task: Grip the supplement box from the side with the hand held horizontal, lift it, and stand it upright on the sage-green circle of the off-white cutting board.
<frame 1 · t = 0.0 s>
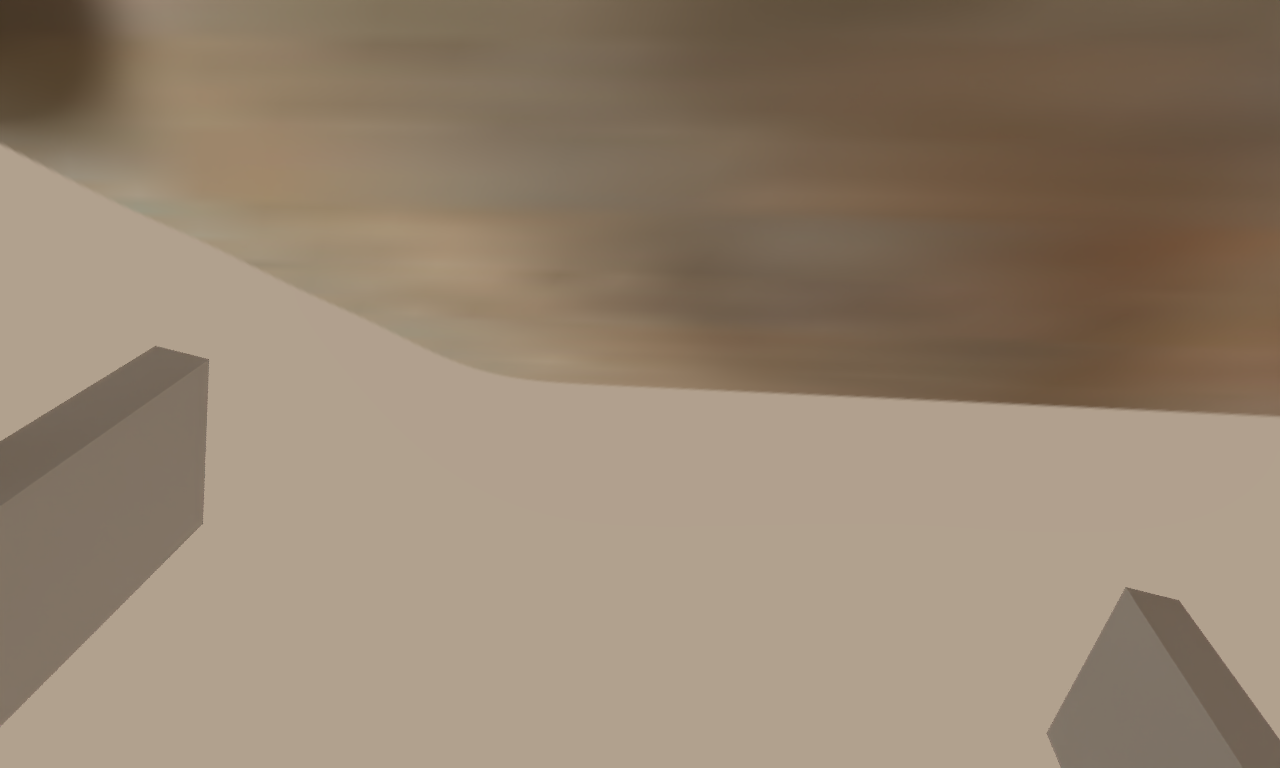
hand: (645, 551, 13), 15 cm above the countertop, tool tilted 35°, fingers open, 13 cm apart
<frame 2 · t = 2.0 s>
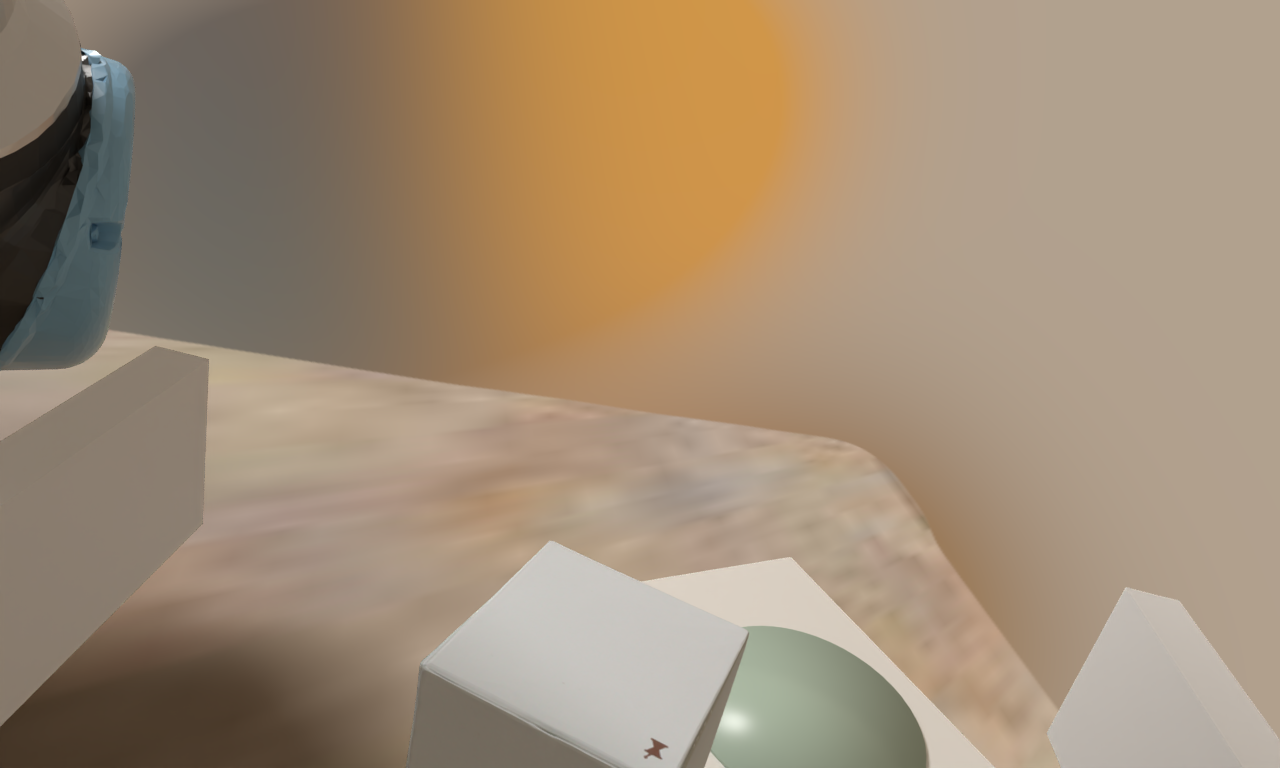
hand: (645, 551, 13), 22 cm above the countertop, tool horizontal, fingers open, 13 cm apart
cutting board: (793, 738, 42), on the countertop
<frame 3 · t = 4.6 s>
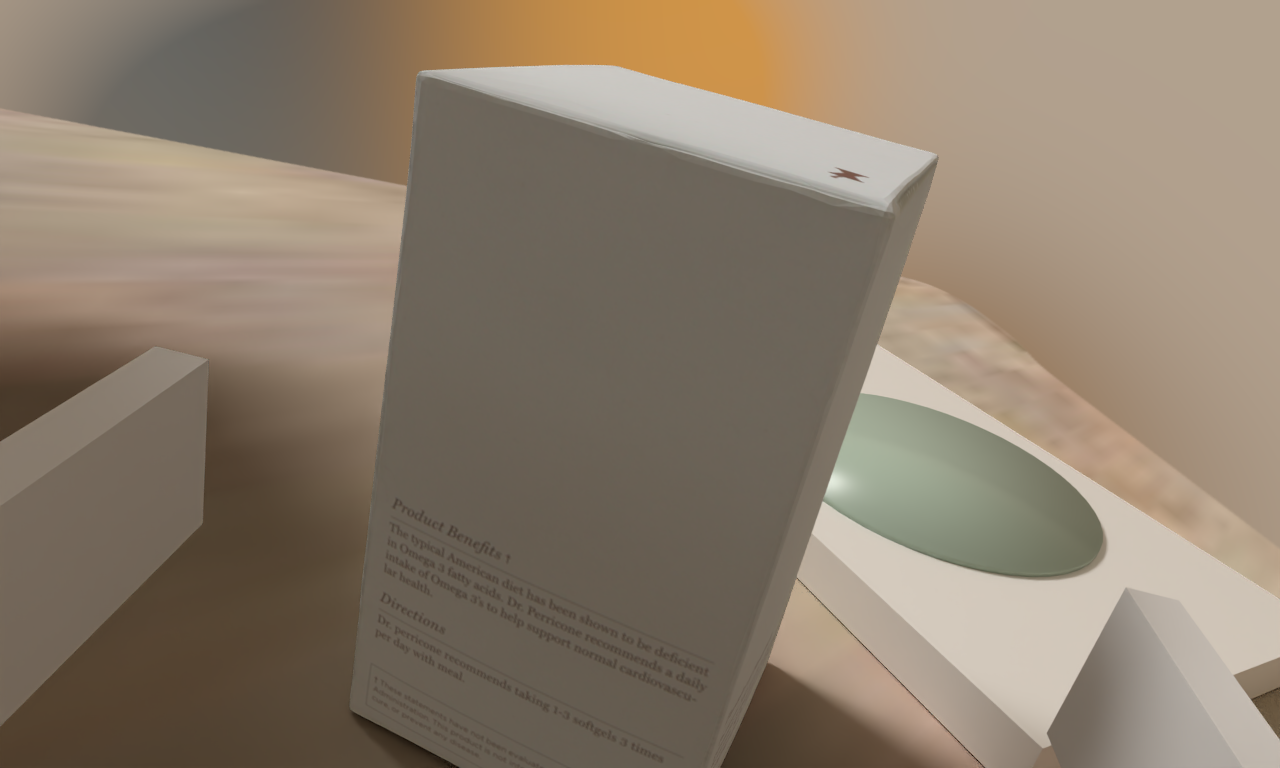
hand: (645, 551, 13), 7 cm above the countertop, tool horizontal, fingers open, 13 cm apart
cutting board: (915, 510, 32), on the countertop
supplement box: (574, 688, 21), on the countertop
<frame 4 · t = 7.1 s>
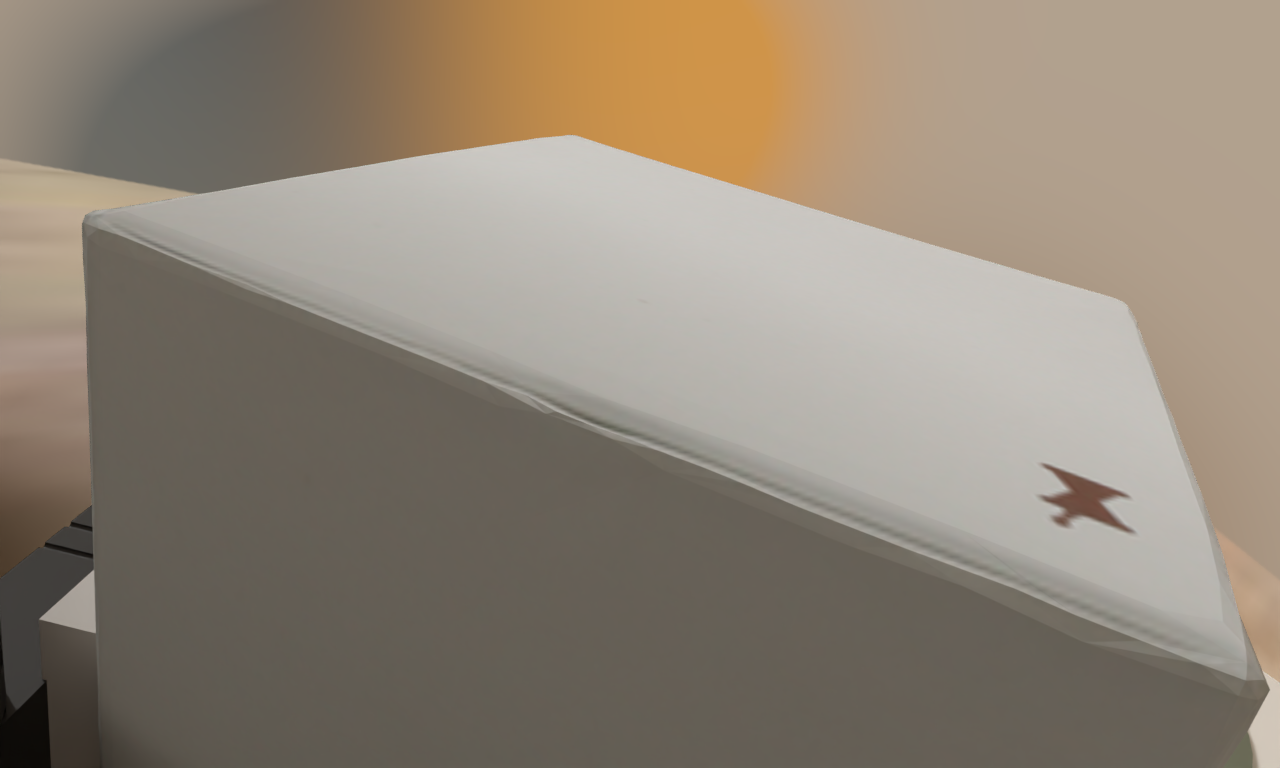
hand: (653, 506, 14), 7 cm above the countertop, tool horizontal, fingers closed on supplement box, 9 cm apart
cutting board: (988, 687, 24), on the countertop
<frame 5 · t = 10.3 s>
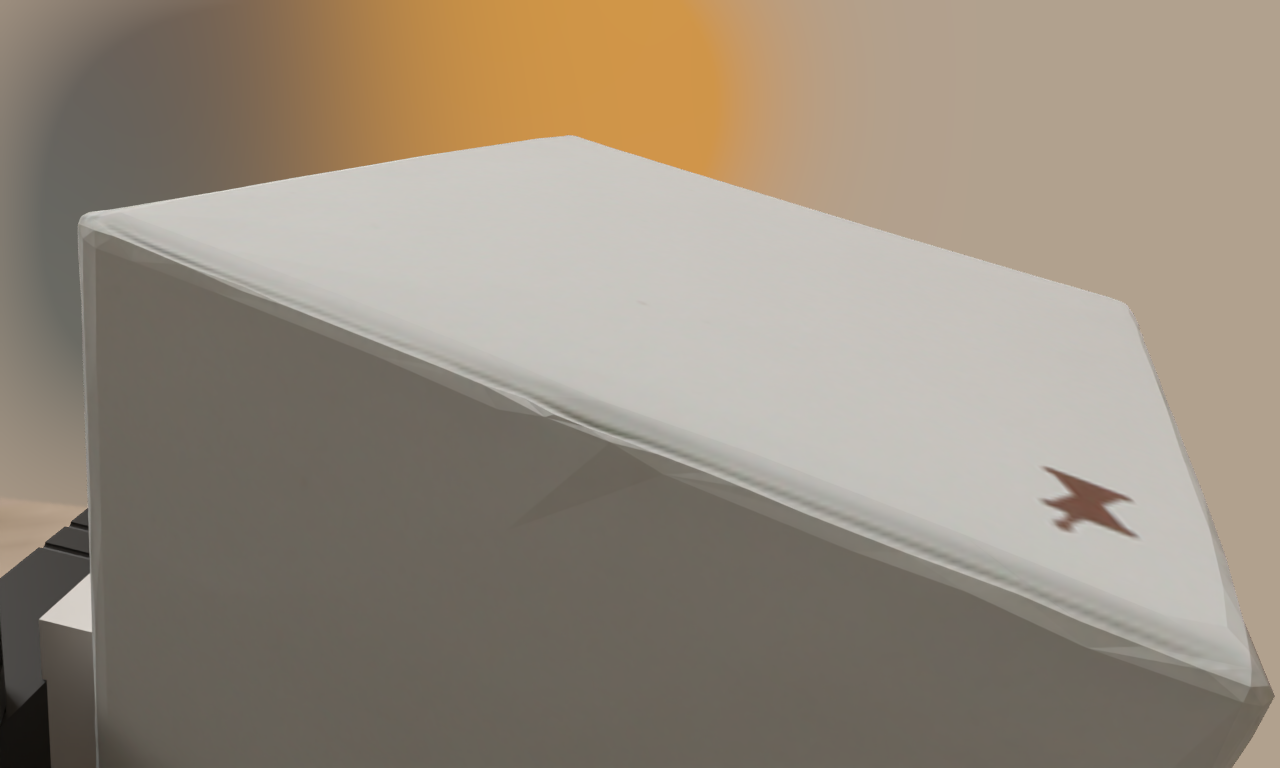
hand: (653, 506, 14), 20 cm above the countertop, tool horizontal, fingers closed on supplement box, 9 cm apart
when the fingers open (10 cm above the countertop, at t = 13.6 s): supplement box drops 1 cm, resting on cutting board.
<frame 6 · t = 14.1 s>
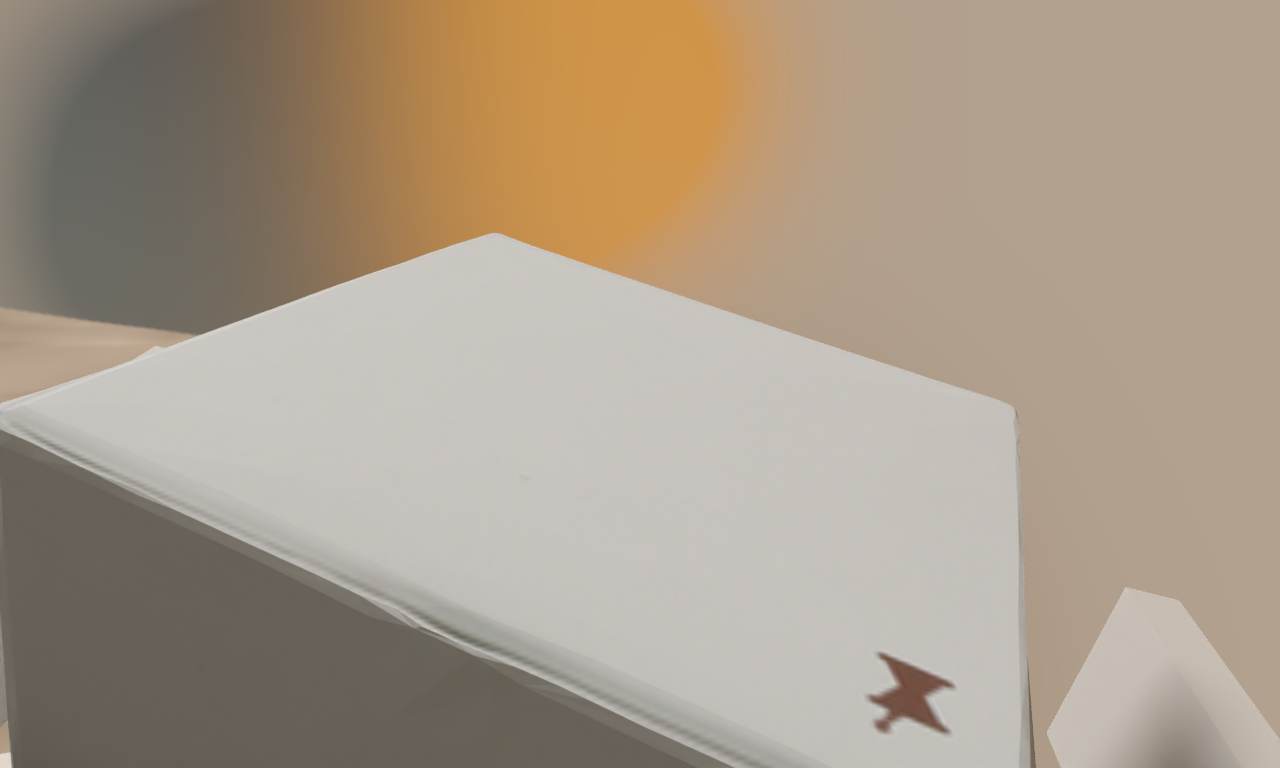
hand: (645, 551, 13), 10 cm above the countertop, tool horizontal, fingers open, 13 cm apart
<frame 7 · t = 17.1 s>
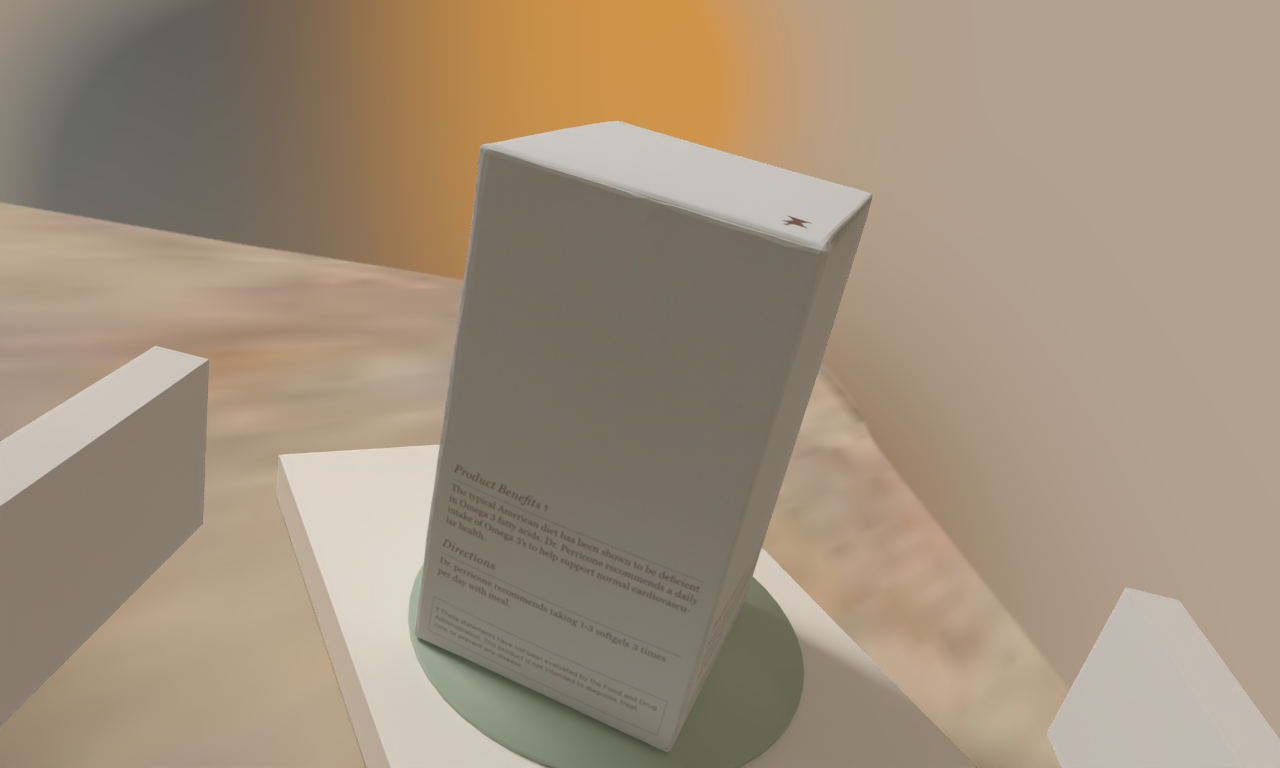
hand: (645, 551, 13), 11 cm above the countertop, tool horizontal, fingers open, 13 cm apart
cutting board: (599, 664, 26), on the countertop
supplement box: (589, 622, 26), point 2 cm above the countertop, touching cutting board
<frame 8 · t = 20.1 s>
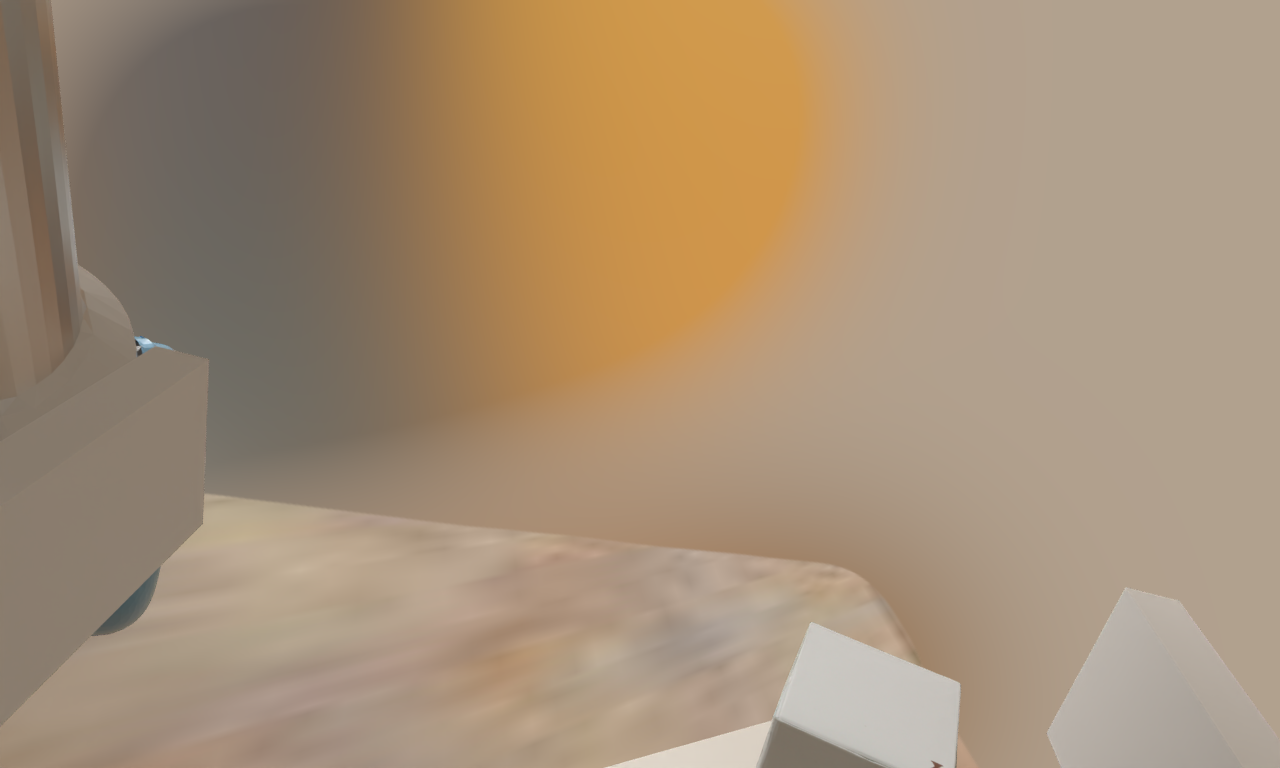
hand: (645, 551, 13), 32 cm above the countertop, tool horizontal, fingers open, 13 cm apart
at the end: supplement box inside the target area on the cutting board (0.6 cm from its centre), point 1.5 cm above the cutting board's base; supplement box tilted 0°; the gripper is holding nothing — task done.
